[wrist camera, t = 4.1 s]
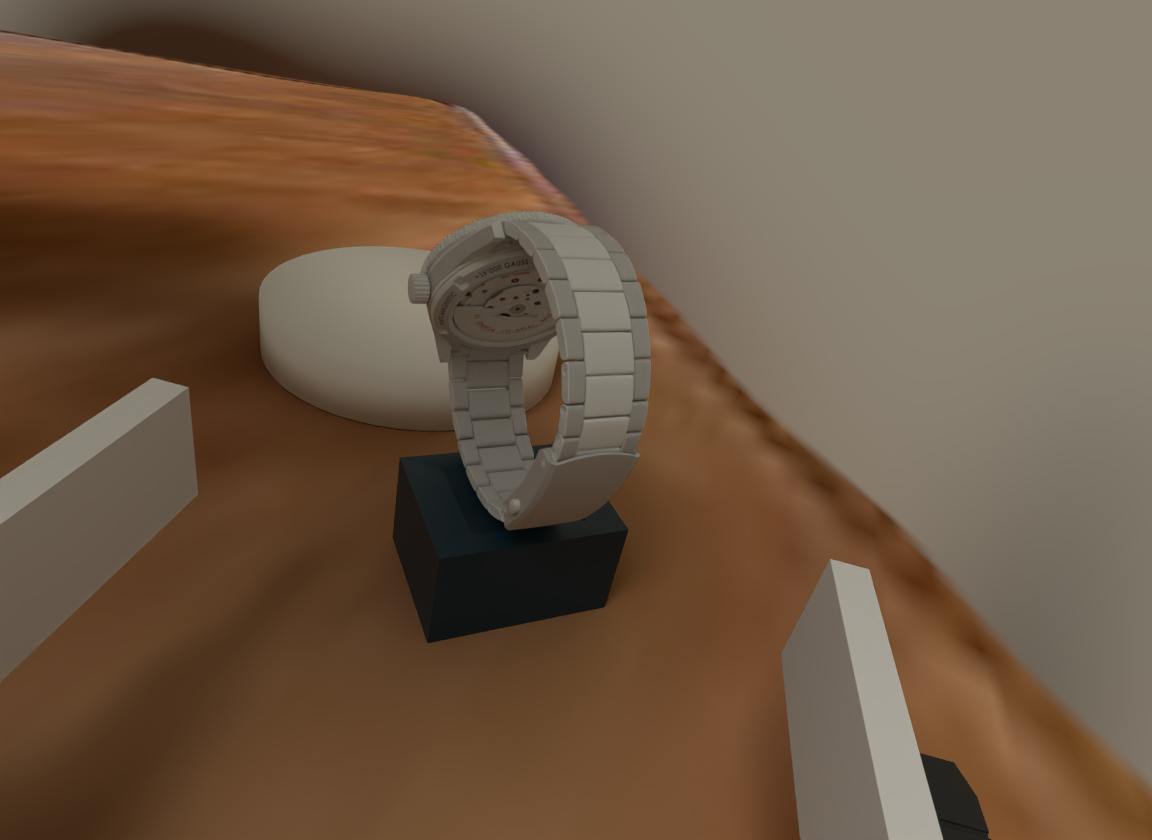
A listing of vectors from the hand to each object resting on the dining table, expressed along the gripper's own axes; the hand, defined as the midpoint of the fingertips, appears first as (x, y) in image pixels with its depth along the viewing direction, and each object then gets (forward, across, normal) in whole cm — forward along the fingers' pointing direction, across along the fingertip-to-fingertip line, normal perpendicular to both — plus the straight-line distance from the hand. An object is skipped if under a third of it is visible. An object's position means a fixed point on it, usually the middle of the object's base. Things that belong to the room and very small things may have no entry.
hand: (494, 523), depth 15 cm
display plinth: (+18, -8, -6) cm, 20 cm away
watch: (+5, 0, -7) cm, 9 cm away
